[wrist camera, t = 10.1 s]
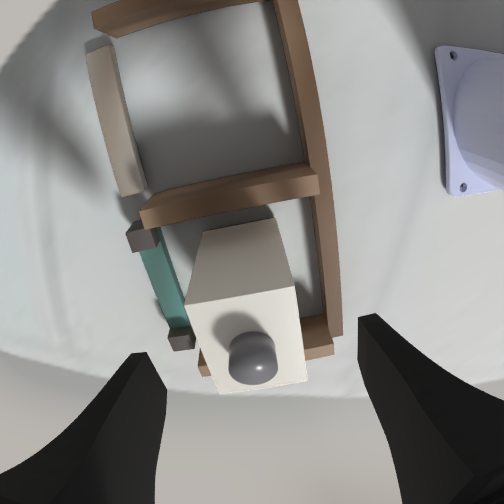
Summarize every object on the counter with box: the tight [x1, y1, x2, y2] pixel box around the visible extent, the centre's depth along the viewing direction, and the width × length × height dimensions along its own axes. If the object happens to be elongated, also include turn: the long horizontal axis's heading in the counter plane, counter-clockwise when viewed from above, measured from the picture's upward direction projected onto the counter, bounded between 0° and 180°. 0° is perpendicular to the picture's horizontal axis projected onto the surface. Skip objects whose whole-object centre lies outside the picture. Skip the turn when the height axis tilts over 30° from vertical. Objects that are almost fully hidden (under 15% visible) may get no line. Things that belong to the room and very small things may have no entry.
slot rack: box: [85, 0, 343, 377], centre depth 13 cm, size 9×18×2 cm, turn 11°
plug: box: [184, 218, 308, 394], centre depth 13 cm, size 4×4×7 cm
